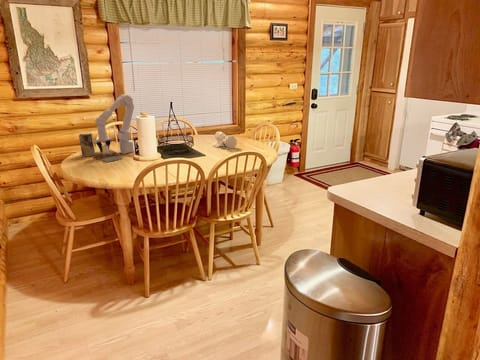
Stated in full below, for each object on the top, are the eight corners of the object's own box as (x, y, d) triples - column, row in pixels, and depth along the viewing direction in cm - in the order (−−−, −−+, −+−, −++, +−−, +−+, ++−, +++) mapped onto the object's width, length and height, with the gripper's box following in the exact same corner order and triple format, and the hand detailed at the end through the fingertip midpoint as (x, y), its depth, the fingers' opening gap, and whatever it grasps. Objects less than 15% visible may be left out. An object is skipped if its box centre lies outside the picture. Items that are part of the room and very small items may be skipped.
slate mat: (116, 156, 277) (116, 155, 277) (122, 159, 270) (122, 158, 270) (100, 159, 270) (100, 159, 269) (106, 162, 263) (106, 161, 262)
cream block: (106, 154, 282) (105, 144, 280) (109, 155, 279) (107, 145, 277) (101, 155, 280) (99, 145, 277) (103, 156, 277) (102, 146, 274)
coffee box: (95, 153, 286) (92, 133, 281) (94, 155, 280) (91, 134, 275) (82, 154, 284) (79, 133, 278) (81, 156, 278) (78, 135, 272)
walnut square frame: (110, 152, 288) (110, 149, 287) (117, 155, 280) (117, 152, 279) (92, 156, 279) (92, 152, 278) (99, 159, 271) (99, 155, 270)
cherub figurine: (223, 137, 288) (210, 130, 302) (223, 152, 293) (210, 145, 307) (237, 134, 295) (223, 128, 309) (237, 149, 300) (223, 142, 315)
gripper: (109, 131, 281) (111, 148, 286) (90, 134, 272) (92, 152, 276) (113, 132, 276) (115, 150, 281) (94, 135, 267) (96, 153, 272)
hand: (104, 151), depth 278 cm, fingers closed on cream block, 4 cm apart
